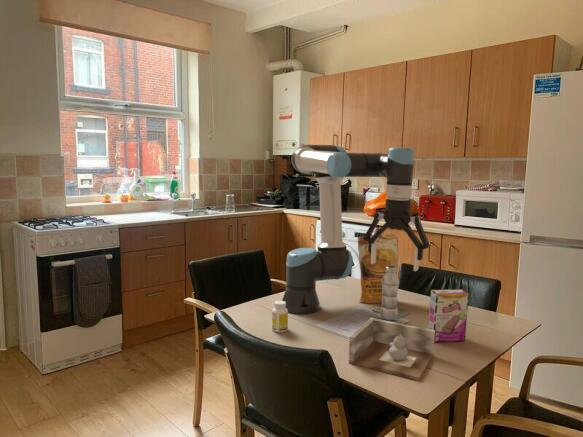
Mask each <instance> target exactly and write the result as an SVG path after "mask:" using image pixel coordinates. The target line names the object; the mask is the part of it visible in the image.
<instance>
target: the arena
mask: <svg viewBox="0 0 583 437" xmlns="http://www.w3.org/2000/svg"><path fill="white" fill-rule="evenodd" d="M400 334H401V335H402V337H403V339H404V340H405V347H406V348H407V351H408V354H407V358H406V359H404V360H400V361H399V360H395V359H394V358H392V357H391V356H390V355H389V349H390V343H391V342H394V339H395V338H396V337H397V336H398V337H399V335H400ZM434 338H435V330H431V329H428V328H424V327H420V326H415V325H409V324H404V323H400V322H395V321H389V320H384V319H379V318H374V317H370V318H369V319H368V320H367V321H365V323H363V324H362V325H361V326H360V327H358V329H356V330H355V331H354V332H353V333H351V335H350V336H349V342H348V345H349V347H348V364H351V365H355V366H359V367H362V368H367V369H370V370H375V371H378V372H382V373H387V374H390V375H394V376H398V377H402V378H405V379H410V380H413V381H417V382H419V381H420V380H421V378H422V376H423V375H424V373H425V371H426V370H427V369H428V366H429V364H430V363H431V360H432V359H433V358H434V355H435V354H434V351H435V342H434Z"/></svg>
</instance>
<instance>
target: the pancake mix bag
mask: <svg viewBox="0 0 583 437" xmlns="http://www.w3.org/2000/svg"><path fill="white" fill-rule="evenodd" d="M373 235H374V234H372V235H371V236H370V237H372V236H373ZM364 236H365V234H364V235H360V236H358V237H357V250H358V251H357V252H358V261H359V264H358V265H359V270H360V286H361V287H360V288H361V292H360V293H361V296H360V300H359V303H363V304H382V295H383V294H382V283H381V280H382V277H383V276H384V274H385V273H386V271H385V270H386V266H395V267H396V272H395V274H396V275H397V276H398V272H399V271H398V270H399V246H398V245H399V243H398V242H399V241H398V236H396V234H381V235H380V236H379V237H378V238H377V239H376V240H375V242H374V243H377V250H376V263H374V264H371V253H369V243H368V242H367V241H365V240H363V238H364Z"/></svg>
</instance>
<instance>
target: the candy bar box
mask: <svg viewBox="0 0 583 437" xmlns="http://www.w3.org/2000/svg"><path fill="white" fill-rule="evenodd" d="M429 297H430V298H429V309H428V310H429V311H428V312H429V313H428V323H427V324H428V326H427V329H431V330H435V338H434V343H449V342H452V343H453V342H465V341H466V333H467V332H466V331H467V317H468V307H469V297H470V294H469V293H468V292H466V291H465V290H464V289H431V290H430V296H429Z"/></svg>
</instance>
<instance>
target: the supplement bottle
mask: <svg viewBox="0 0 583 437" xmlns="http://www.w3.org/2000/svg"><path fill="white" fill-rule="evenodd" d="M273 304H274V305H273V308H272V310H271V330H272V331H273V332H275V333H285V332H287V331H288V328H289V327H288V325H289V324H288V323H289V312H288V309H287V308H285V307H286V302H285V301H282V300H275V301H274V303H273Z"/></svg>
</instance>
